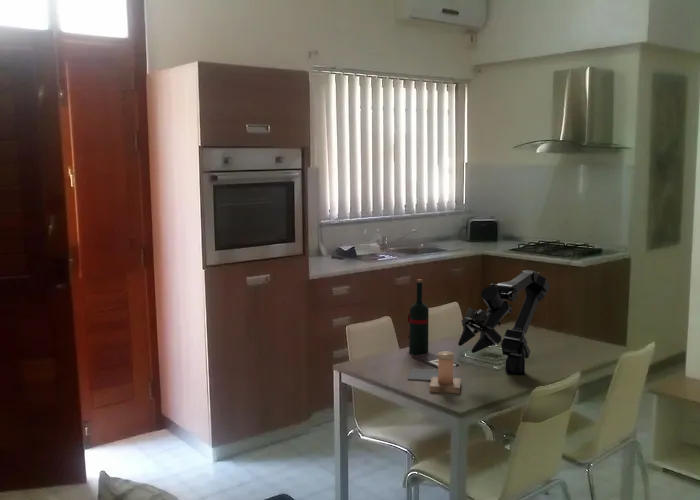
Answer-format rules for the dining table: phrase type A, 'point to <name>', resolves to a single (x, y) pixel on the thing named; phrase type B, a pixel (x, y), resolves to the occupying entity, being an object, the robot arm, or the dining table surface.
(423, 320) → the wine bottle
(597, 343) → the dining table surface
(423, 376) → the mat
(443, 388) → the plate
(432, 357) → the chocolate bar
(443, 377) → the tan cylindrical piece
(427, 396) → the dining table surface
